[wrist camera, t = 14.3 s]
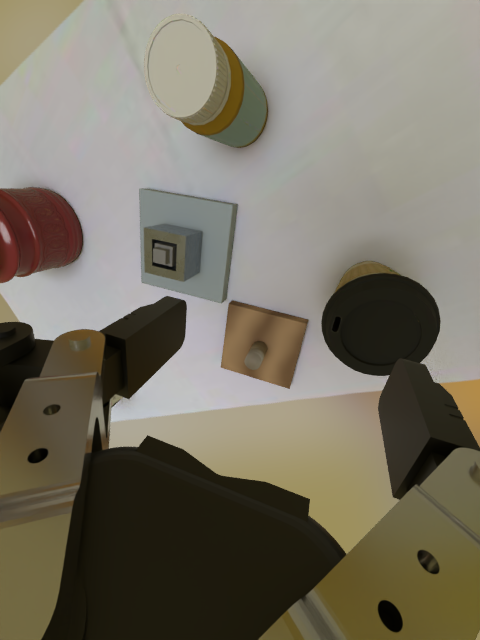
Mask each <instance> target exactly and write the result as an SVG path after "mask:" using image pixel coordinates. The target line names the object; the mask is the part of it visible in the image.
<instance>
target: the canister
mask: <svg viewBox="0 0 480 640" xmlns="http://www.w3.org/2000/svg"><path fill="white" fill-rule="evenodd" d="M81 248H82V232H81V227H80V224H79V221H78V219H77V217H76V215H75V213H74V211H73V210H72V208H71V207H70V205H69V204H68V203H67V202H66V201H65V200H64V199H63V198H62V197H61V196H59V195H58V194H56V193H54V192H52V191H50V190H46V189H42V188H36V187H28V188H23V189H0V283H4V282H7V281H10V280H11V279H12V278H13V277H14V276H17V277H25V276H29V275H31V274H32V273H36V272H40V271H43V270H47V269H51V268H59V267H62V266H65V265H67V264H69V263H70V262H73V261H74V260H75V259H76V258H77V257H78V256H79V254H80V251H81Z"/></svg>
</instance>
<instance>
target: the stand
mask: <svg viewBox="0 0 480 640" xmlns="http://www.w3.org/2000/svg"><path fill="white" fill-rule="evenodd" d="M307 322H308V320H307V319H303V318H299V317H295V316H291V315H287V314H283V313H279V312H275V311H271V310H268V309H264V308H260V307H256V306H252V305H248V304H244V303H240V302H236V301H231V302H230V303H229V307H228V315H227V323H226V330H225V338H224V346H223V354H222V362H221V368H224V369H228V370H231V371H234V372H237V373H240V374H244V375H247V376H250V377H253V378H256V379H260V380H263V381H266V382H269V383H272V384H276V385H279V386H282V387H285V388H288V389H290V385H291V381H292V378H293V374H294V370H295V367H296V363H297V359H298V356H299V352H300V348H301V345H302V341H303V337H304V334H305V330H306V326H307Z"/></svg>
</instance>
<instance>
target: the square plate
mask: <svg viewBox="0 0 480 640" xmlns="http://www.w3.org/2000/svg"><path fill="white" fill-rule="evenodd" d="M139 200H140V239H141V279H142V283H145V284H149V285H153V286H156V287H160V288H164V289H168V290H172V291H176V292H180V293H183V294H187V295H191V296H195V297H199V298H203V299H207V300H211V301H214V302H218V303H222V302H224V301H225V300H226V296H227V288H228V280H229V271H230V263H231V255H232V247H233V238H234V230H235V222H236V213H237V205H238V204H233V203H227V202H221V201H215V200H210V199H204V198H198V197H192V196H187V195H181V194H175V193H169V192H164V191H158V190H152V189H139ZM160 224H169V225H174V226H179V227H184V228H189V229H194V230H199V231H203V236H202V250H201V265H200V273H198V274H197V275H195V276H193V277H192V278H190V279H188V280H186V281H185V282H182V281H178V280H174V279H169V278H165V277H161V276H157V275H153V274H149V273H145V265H144V227H149V226H154V225H160ZM176 256H177V244H174V243H169V242H165V241H160V242H157V243H155V248H153V262H155V263H158V264H163V265H167V266H171V267H173V266H175V265H176Z"/></svg>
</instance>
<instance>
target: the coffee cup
mask: <svg viewBox="0 0 480 640" xmlns="http://www.w3.org/2000/svg"><path fill="white" fill-rule="evenodd" d="M439 331H440V315H439V309H438V307H437V304H436V302H435V300H434V298H433V297H432V296H431V294H430V293H429V292H428V290H427V289H425V288H424V287H423V286H422V285H420V284H419V283H418V282H416V281H414V280H412V279H410V278H408V277H404V276H401V275H400V274H398V273H397V272H395V271H394V270H392V269H390V268H388V267H386V266H384V265H382V264H380V263H377V262H373V261H365V262H360V263H357V264H355V265H353V266H352V267H351V268H349V269H348V270H347V271H346V273H345V274H344V276H343V277H342V279H341V281H340V282H339V284H338V286H337V289H336V291H335V293H334V294H333V295H332V296H331V298H330V299H329V301H328V303H327V304H326V307H325V309H324V312H323V316H322V332H323V336H324V339H325V342H326V344H327V345H328V347H329V349H330V350H331V352H332V353H333V354H334V355H335V356H336V357H337V358H338V359H339V360H340V361H342V362H343V363H344V364H345V365H347V366H348V367H350V368H352V369H353V370H355V371H358V372H361V373H364V374H369V375H376V376H386V375H390V374H391V372H392V369H393V367H394V365H395V363H396V362H397V360H398V359H400V358H402V359H405V360H409V361H413V362H417V363H420V362H421V361H422V360H423V359H424V358H425V357H426V356H427V355H428V354H429V352H430V351H431V349H432V348H433V345H434V344H435V342H436V340H437V337H438V334H439Z"/></svg>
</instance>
